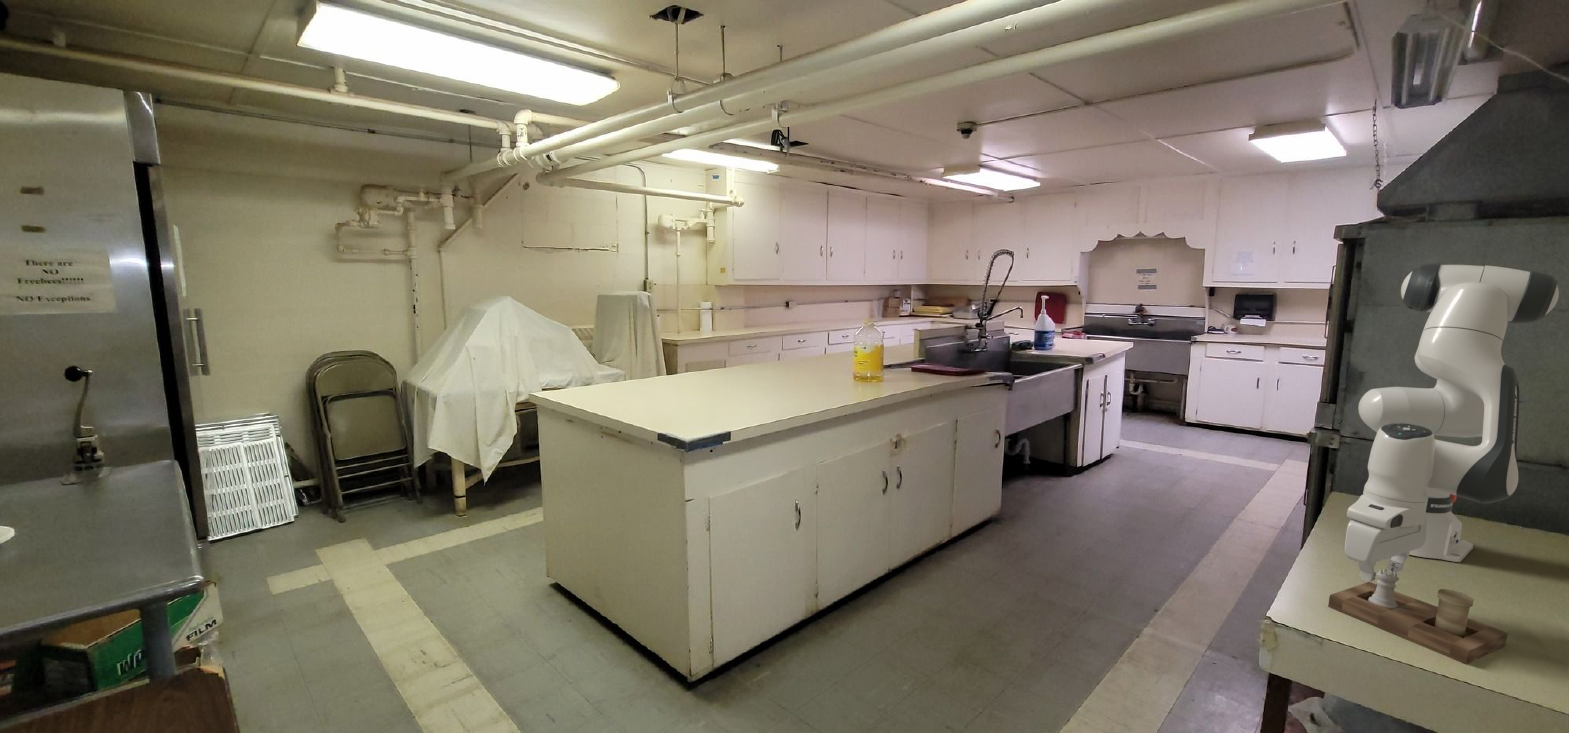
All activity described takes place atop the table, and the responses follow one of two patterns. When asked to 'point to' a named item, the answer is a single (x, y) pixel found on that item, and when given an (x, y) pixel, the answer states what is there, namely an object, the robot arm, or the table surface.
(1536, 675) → the table surface
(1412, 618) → the pallet board
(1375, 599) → the rook chess piece
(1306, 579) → the table surface
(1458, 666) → the table surface
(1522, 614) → the table surface
